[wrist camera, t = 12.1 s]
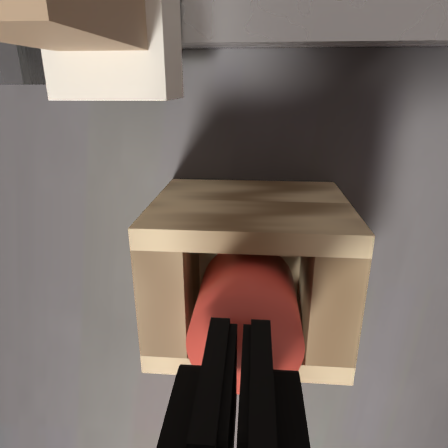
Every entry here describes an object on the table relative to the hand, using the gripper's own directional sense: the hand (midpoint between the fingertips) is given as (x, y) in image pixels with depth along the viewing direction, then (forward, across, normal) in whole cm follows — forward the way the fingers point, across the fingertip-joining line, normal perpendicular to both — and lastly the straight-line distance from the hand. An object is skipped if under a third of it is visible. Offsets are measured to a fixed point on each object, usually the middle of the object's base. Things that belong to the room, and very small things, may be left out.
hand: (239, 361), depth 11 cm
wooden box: (+10, 0, 0) cm, 10 cm away
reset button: (+5, 0, 0) cm, 5 cm away
